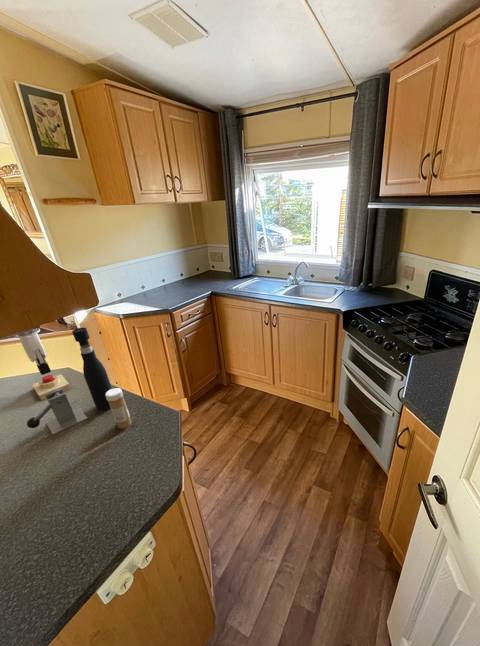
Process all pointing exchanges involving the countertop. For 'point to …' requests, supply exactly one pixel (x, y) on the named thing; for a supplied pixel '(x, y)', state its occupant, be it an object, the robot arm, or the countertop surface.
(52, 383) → the control block
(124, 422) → the sprinkles bottle
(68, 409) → the grey lever stand
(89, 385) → the dark water bottle
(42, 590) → the countertop surface
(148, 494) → the countertop surface
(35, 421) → the lever handle
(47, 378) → the button
